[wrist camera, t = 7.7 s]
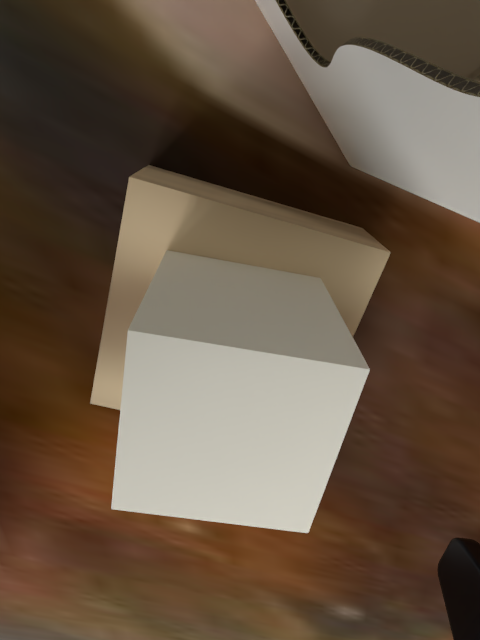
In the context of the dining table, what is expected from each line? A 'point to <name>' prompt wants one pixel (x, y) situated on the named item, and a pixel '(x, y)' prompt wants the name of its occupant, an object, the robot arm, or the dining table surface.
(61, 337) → the dining table surface
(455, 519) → the dining table surface
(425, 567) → the dining table surface
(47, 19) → the dining table surface
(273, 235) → the oak block
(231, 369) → the off-white plain cube
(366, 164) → the gable box
